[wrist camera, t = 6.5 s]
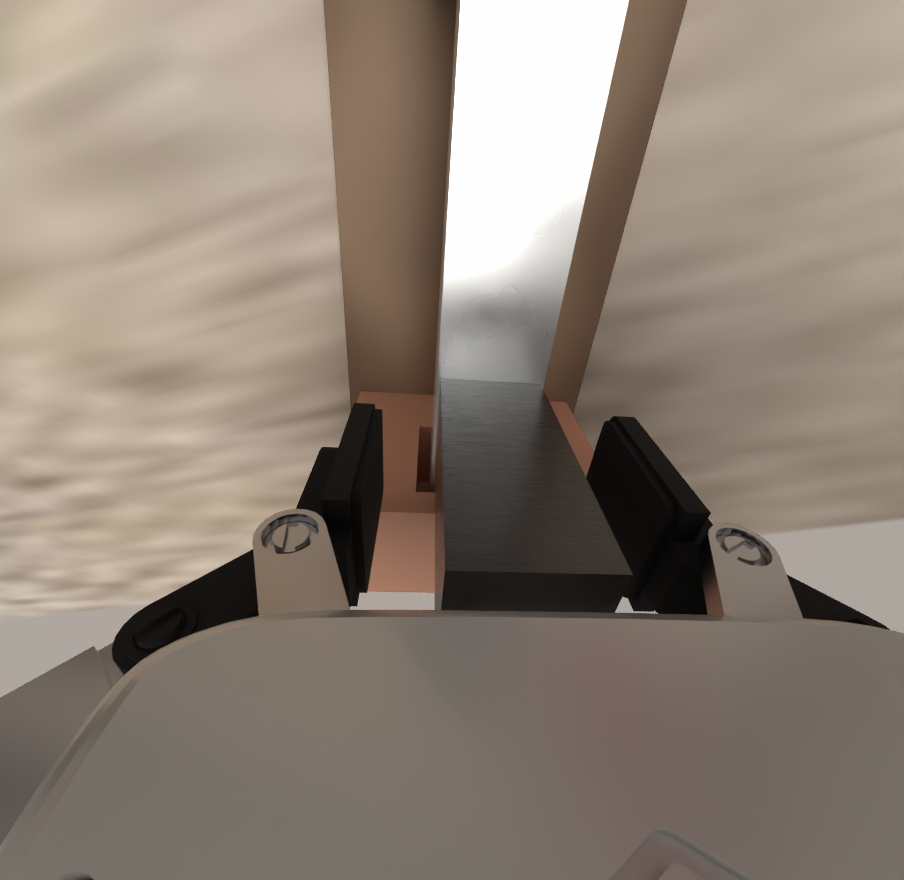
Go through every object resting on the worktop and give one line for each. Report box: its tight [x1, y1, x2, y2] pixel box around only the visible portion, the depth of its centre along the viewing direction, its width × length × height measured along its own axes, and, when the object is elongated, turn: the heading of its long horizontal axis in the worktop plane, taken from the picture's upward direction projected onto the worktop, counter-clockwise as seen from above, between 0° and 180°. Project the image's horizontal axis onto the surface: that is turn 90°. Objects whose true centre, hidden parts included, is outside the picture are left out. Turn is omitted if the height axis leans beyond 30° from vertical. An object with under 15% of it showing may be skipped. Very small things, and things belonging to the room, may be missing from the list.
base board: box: [324, 0, 687, 414], centre depth 15 cm, size 11×30×2 cm, turn 176°
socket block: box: [357, 391, 594, 593], centre depth 18 cm, size 10×4×8 cm, turn 86°
